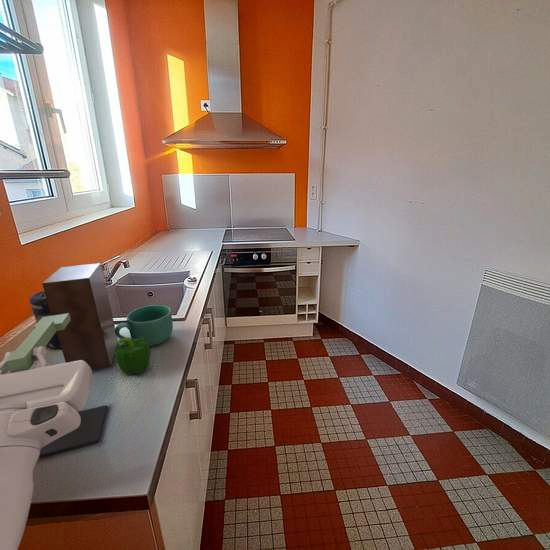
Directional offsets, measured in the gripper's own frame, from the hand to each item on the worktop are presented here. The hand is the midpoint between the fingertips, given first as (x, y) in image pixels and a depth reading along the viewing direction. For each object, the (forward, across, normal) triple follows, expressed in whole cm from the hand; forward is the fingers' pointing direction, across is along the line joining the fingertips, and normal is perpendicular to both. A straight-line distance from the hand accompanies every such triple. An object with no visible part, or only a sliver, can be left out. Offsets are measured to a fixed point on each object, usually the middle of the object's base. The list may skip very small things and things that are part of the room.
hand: (27, 350), depth 52 cm
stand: (+17, 0, -35) cm, 39 cm away
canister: (+29, -12, -41) cm, 52 cm away
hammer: (+4, 0, -4) cm, 6 cm away
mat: (-8, +2, -20) cm, 22 cm away
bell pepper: (+8, +12, -30) cm, 33 cm away
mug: (+20, +14, -36) cm, 44 cm away
